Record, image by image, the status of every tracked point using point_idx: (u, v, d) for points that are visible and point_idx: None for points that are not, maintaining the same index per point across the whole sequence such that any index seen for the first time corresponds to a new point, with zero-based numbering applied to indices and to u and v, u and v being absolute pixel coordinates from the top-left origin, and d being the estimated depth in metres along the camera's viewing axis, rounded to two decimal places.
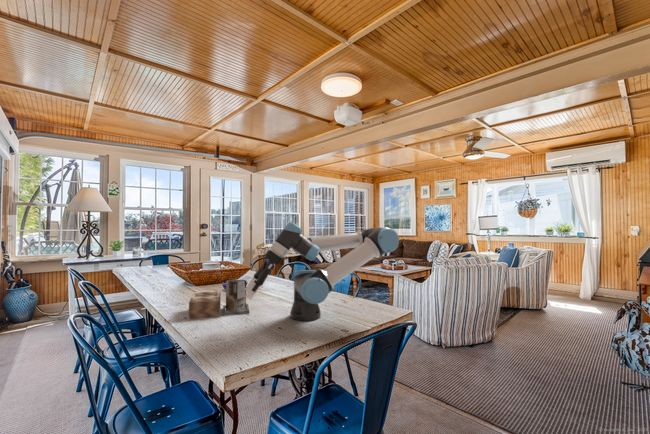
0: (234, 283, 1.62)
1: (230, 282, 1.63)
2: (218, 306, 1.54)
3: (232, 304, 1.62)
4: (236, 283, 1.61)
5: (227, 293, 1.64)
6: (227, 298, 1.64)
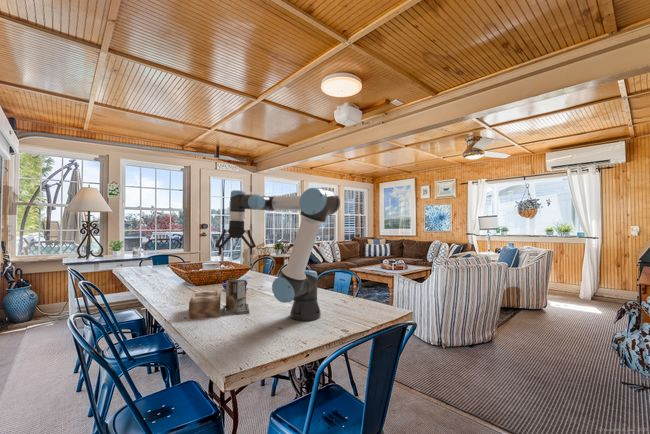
0: (234, 283, 1.62)
1: (230, 282, 1.63)
2: (218, 306, 1.54)
3: (232, 304, 1.62)
4: (236, 283, 1.61)
5: (227, 293, 1.65)
6: (227, 298, 1.64)
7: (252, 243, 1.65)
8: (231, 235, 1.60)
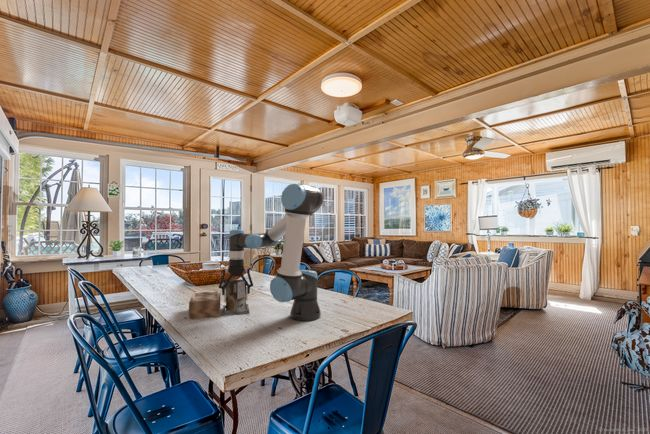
0: (234, 283, 1.62)
1: (230, 282, 1.64)
2: (218, 306, 1.54)
3: (232, 304, 1.62)
4: (236, 283, 1.61)
5: (227, 293, 1.64)
6: (227, 298, 1.64)
7: (250, 282, 1.67)
8: (231, 274, 1.63)
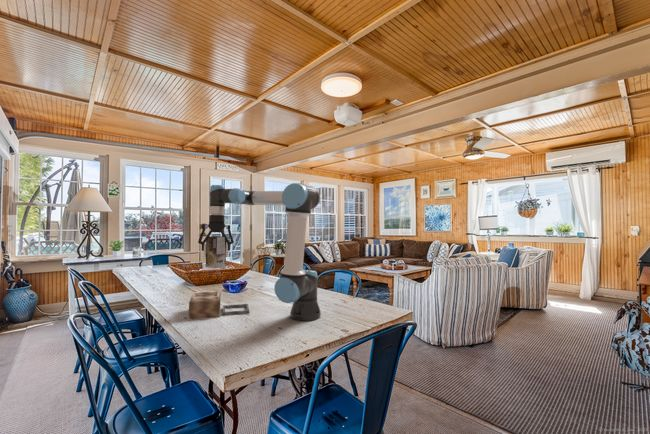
0: (214, 238, 1.60)
1: (210, 238, 1.61)
2: (218, 306, 1.54)
3: (211, 260, 1.60)
4: (216, 238, 1.59)
5: (207, 249, 1.62)
6: (207, 254, 1.62)
7: (230, 239, 1.64)
8: (211, 230, 1.61)
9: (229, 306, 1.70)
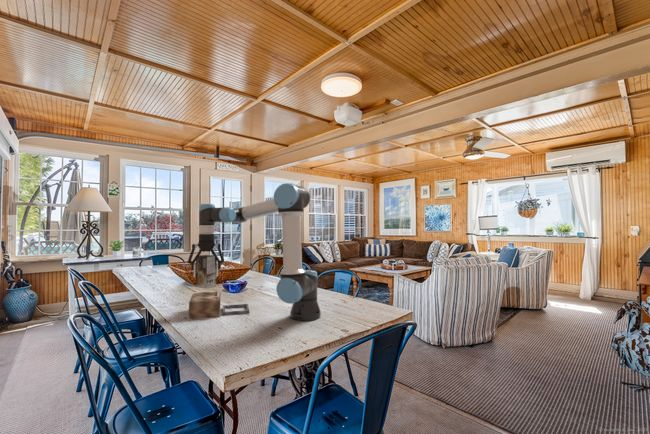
0: (203, 258, 1.58)
1: (200, 257, 1.59)
2: (218, 306, 1.54)
3: (201, 280, 1.58)
4: (205, 258, 1.57)
5: (197, 268, 1.60)
6: (197, 274, 1.60)
7: None
8: (201, 249, 1.59)
9: (229, 306, 1.70)
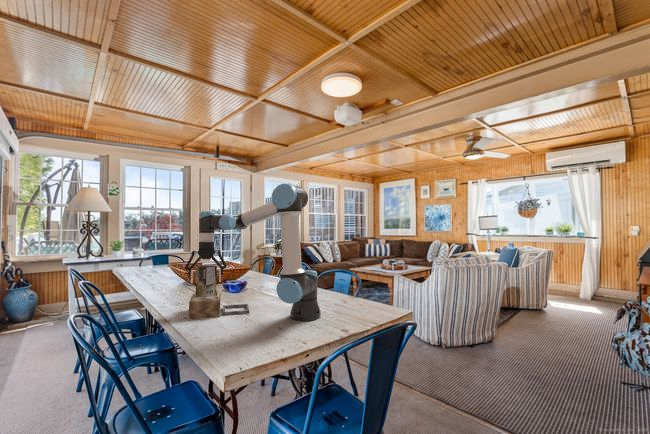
0: (203, 268, 1.58)
1: (200, 267, 1.59)
2: (218, 306, 1.54)
3: (201, 290, 1.58)
4: (205, 268, 1.57)
5: (197, 279, 1.60)
6: (197, 284, 1.60)
7: (223, 264, 1.63)
8: (200, 256, 1.59)
9: (229, 306, 1.70)
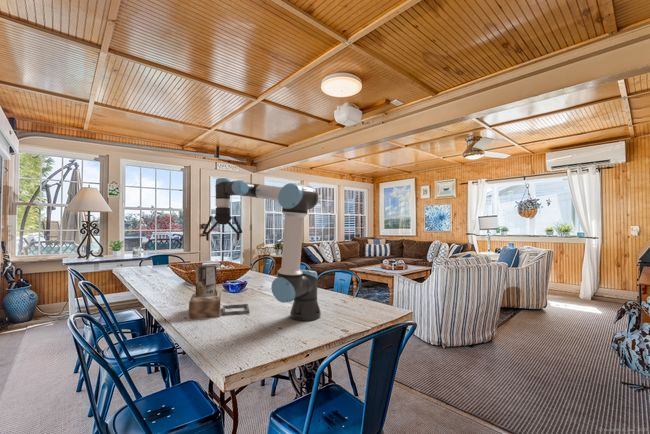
0: (203, 269, 1.58)
1: (199, 268, 1.59)
2: (218, 306, 1.54)
3: (201, 291, 1.58)
4: (205, 268, 1.57)
5: (197, 279, 1.60)
6: (197, 284, 1.60)
7: (239, 229, 1.70)
8: (217, 221, 1.66)
9: (229, 306, 1.70)
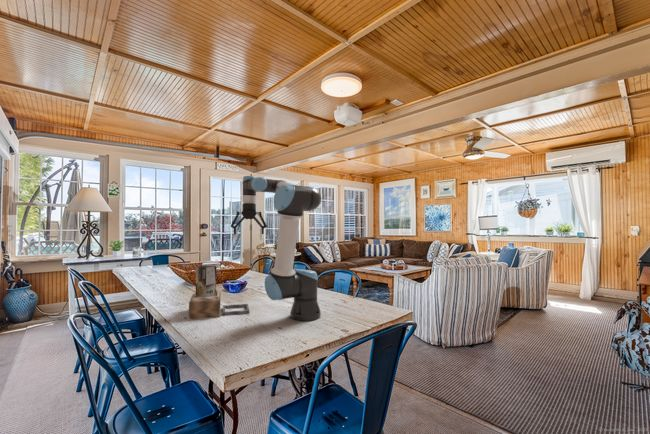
0: (203, 269, 1.58)
1: (199, 268, 1.59)
2: (218, 306, 1.54)
3: (201, 291, 1.58)
4: (205, 268, 1.57)
5: (197, 279, 1.60)
6: (197, 284, 1.60)
7: (263, 223, 1.81)
8: (244, 216, 1.78)
9: (229, 306, 1.70)
